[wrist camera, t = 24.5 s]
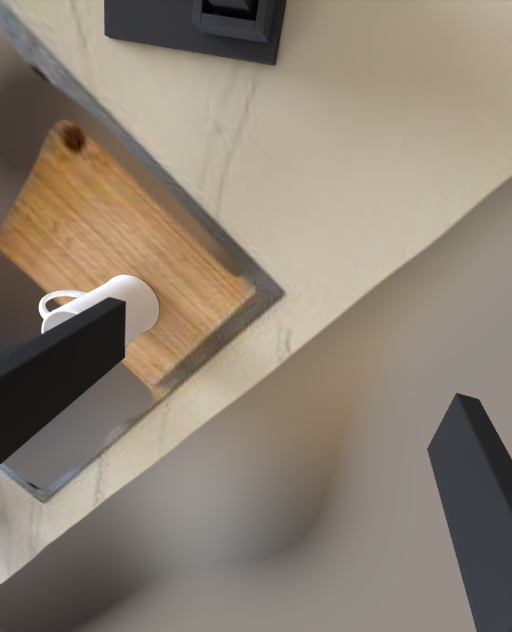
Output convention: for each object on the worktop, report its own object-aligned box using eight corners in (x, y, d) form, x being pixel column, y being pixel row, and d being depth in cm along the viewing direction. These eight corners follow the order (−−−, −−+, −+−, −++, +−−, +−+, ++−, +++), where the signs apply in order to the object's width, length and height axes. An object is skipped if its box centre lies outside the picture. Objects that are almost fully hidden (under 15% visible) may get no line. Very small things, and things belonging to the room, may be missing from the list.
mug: (77, 298, 52) (7, 334, 41) (94, 249, 48) (22, 274, 37) (146, 342, 52) (95, 389, 41) (169, 297, 48) (118, 335, 37)
